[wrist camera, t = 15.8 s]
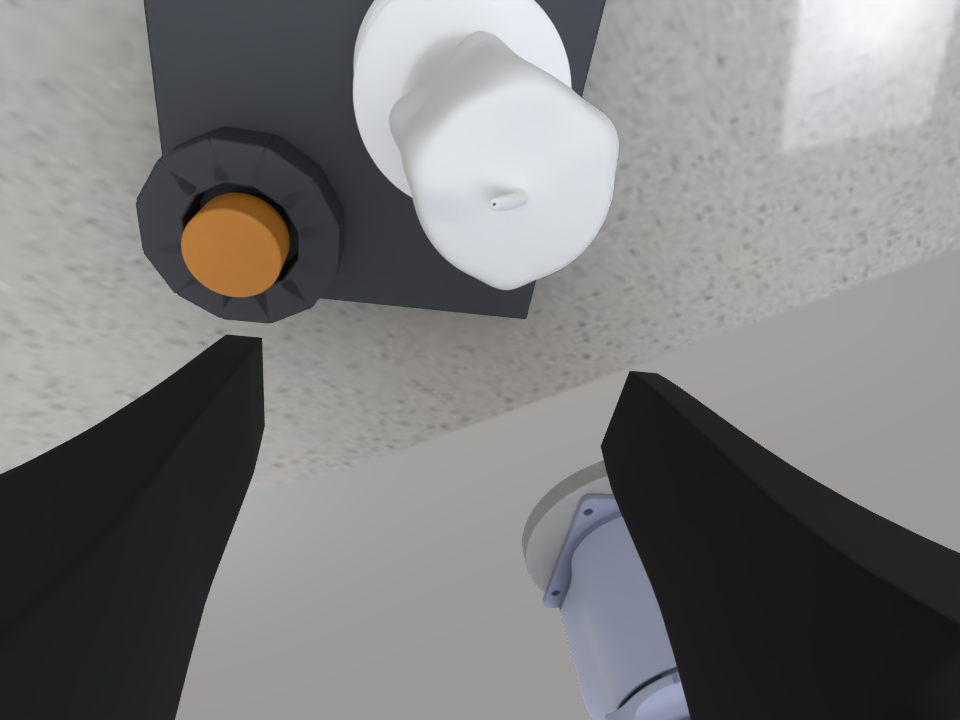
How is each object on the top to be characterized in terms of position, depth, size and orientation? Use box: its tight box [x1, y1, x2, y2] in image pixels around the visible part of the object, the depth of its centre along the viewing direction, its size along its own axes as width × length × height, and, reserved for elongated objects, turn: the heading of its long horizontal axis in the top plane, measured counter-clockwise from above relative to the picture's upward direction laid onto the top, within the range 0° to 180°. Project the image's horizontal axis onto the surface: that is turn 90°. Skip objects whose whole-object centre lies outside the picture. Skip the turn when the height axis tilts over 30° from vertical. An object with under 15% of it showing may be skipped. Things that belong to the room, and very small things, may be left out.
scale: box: [136, 0, 606, 323], centre depth 16 cm, size 12×12×3 cm
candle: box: [353, 0, 619, 290], centre depth 11 cm, size 5×5×12 cm
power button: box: [181, 192, 290, 297], centre depth 16 cm, size 3×3×2 cm
